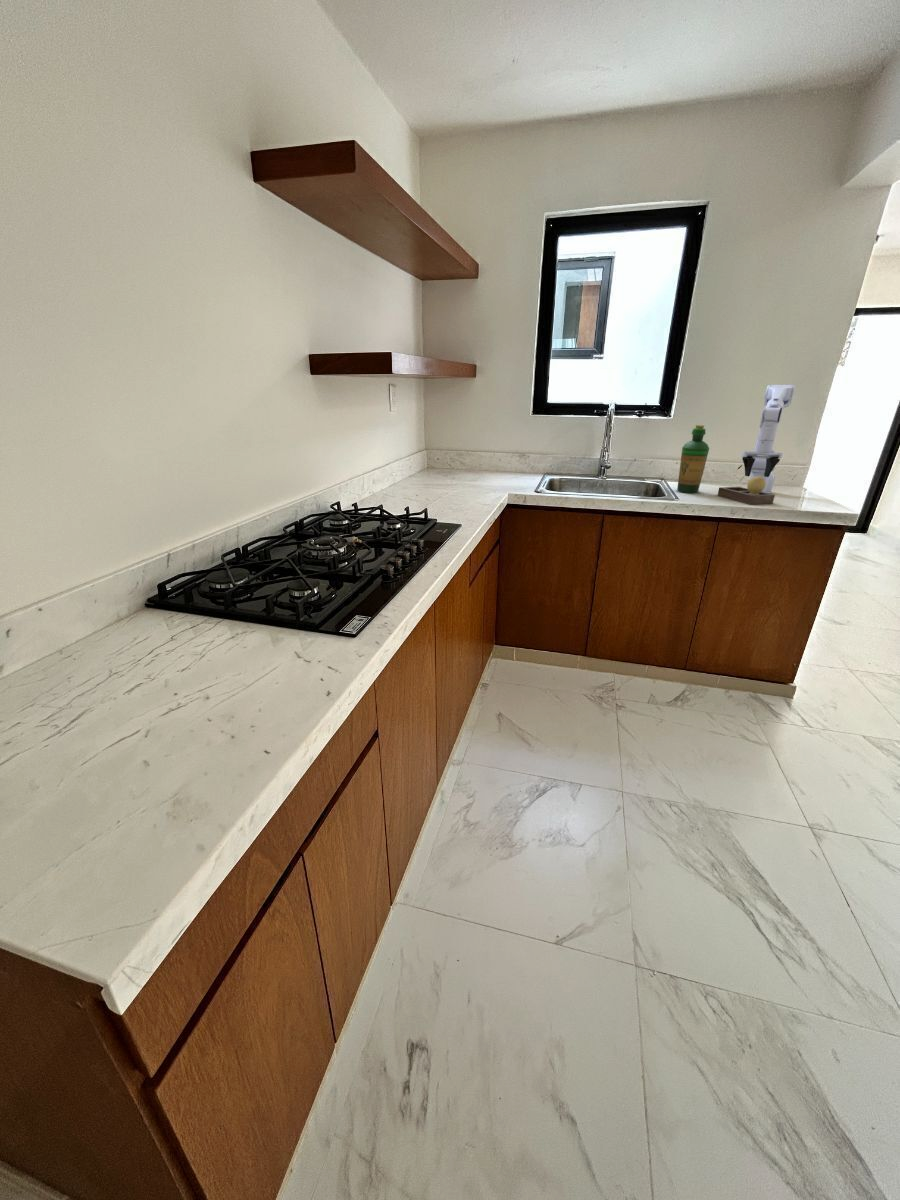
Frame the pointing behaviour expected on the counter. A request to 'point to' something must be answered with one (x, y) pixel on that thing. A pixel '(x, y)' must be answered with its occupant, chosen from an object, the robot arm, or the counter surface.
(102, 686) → the counter surface
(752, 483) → the light bulb
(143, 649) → the counter surface
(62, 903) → the counter surface
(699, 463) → the bottle
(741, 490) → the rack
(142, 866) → the counter surface
